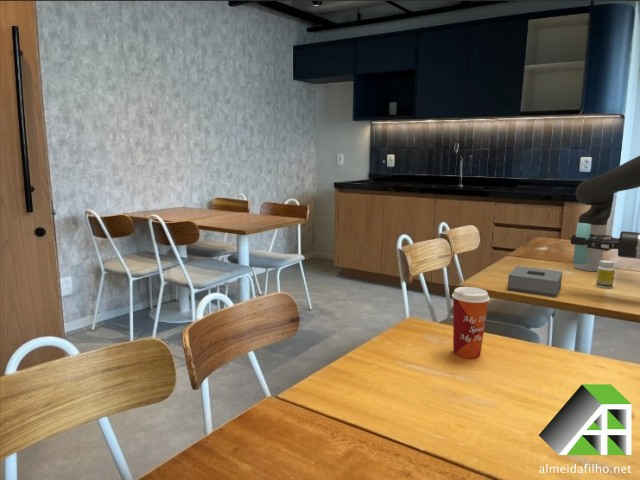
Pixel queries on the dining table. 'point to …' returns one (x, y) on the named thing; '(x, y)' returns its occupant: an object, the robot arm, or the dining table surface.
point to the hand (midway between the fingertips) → (571, 239)
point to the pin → (581, 250)
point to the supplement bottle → (605, 274)
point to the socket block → (535, 281)
